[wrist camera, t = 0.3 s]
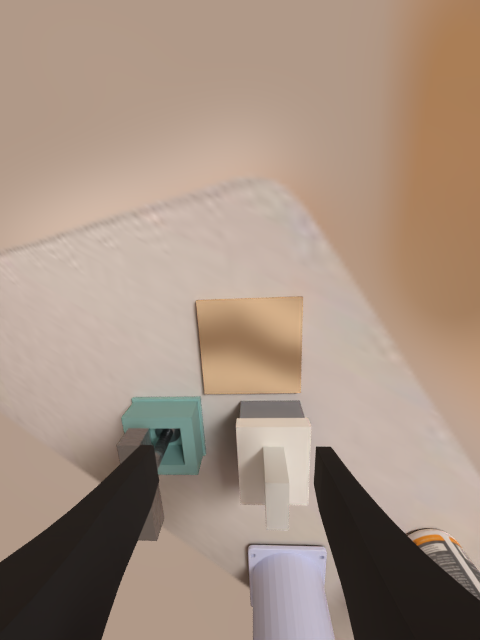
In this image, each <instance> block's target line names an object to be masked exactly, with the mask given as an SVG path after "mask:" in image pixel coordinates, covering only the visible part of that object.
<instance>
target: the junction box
mask: <svg viewBox="0 0 480 640" xmlns="http://www.w3.org/2000/svg"><path fill="white" fill-rule="evenodd" d="M240 418H305V417H304V414H303V411H302V407H301V404H300V401H241V407H240Z"/></svg>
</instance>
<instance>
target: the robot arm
mask: <svg viewBox="0 0 480 640" xmlns="http://www.w3.org/2000/svg"><path fill="white" fill-rule="evenodd" d="M158 483H159V477H158V470H157V463H156V457H155V450H154V445H140V446H139V447H138V448H137V449H136V450H135V451H134V452H132V453H131V454H130V455H129V456H128V457H127V458H126V459H125V460H124V461H123V462H122V463H121V464H120V465H119V466H118V467H117V468H116V469H115V470H114V471H113V472H112V473H111V474H110V475H109V476H108V477H107V478H106V479H104V480H103V481H102V482H101V483H100V484H99V485H98V486H97V487H96V488H95V489H94V490H93V491H91V492H90V493H89V494H88V495H87V496H86V497H85V498H83V499H82V500H81V501H80V502H79V503H78V504H77V505H76V506H74V507H73V508H72V509H71V510H70V511H68V512H67V513H66V514H65V515H64V516H62V517H61V518H60V519H59V520H57V521H56V522H55V523H53V524H52V525H51V526H50V527H48V528H47V529H46V530H45V531H43V532H42V533H41V534H39V535H38V536H37V537H35V538H34V539H32V540H31V541H30V542H28V543H27V544H25V545H24V546H22V547H21V548H20V549H18V550H17V551H16V552H14V553H13V554H11V555H10V556H8V557H7V558H6V559H4V560H3V561H1V562H0V640H101V639H102V636H103V633H104V629H105V626H106V623H107V620H108V617H109V614H110V611H111V608H112V605H113V602H114V599H115V596H116V593H117V590H118V588H119V585H120V582H121V580H122V577H123V575H124V572H125V570H126V567H127V565H128V562H129V560H130V557H131V555H132V553H133V550H134V548H135V546H136V543H137V541H138V538H139V536H140V534H141V531H142V529H143V526H144V524H145V522H146V519H147V517H148V514H149V512H150V509H151V507H152V503H153V500H154V497H155V494H156V490H157V487H158ZM314 487H315V492H316V497H317V502H318V507H319V512H320V515H321V519H322V522H323V525H324V529H325V532H326V535H327V539H328V542H329V545H330V548H331V552H332V555H333V558H334V562H335V565H336V568H337V572H338V575H339V578H340V581H341V585H342V589H343V593H344V596H345V600H346V605H347V609H348V613H349V618H350V622H351V626H352V631H353V635H354V640H480V600H479V599H477V598H476V597H475V596H474V595H472V594H471V593H470V592H469V591H468V590H467V589H465V588H464V587H463V586H462V585H461V584H460V583H458V582H457V581H456V580H455V579H454V578H453V577H452V576H450V575H449V574H448V573H447V572H446V571H445V570H444V569H442V568H441V567H440V566H439V565H438V564H437V563H435V562H434V561H433V560H432V559H431V558H430V557H429V556H428V555H427V554H426V553H425V552H424V551H422V550H421V549H420V548H419V547H418V546H417V545H416V544H415V543H414V542H413V541H412V540H411V539H410V538H409V537H408V536H407V535H406V534H405V533H404V532H403V531H402V530H401V529H400V528H399V527H398V526H397V525H396V524H395V523H394V522H393V521H392V520H391V519H390V518H389V517H388V515H387V514H386V513H385V512H384V511H383V510H382V509H381V508H380V507H379V506H378V505H377V503H376V502H375V501H374V500H373V499H372V498H371V497H370V495H369V494H368V493H367V492H366V491H365V489H364V488H363V487H362V486H361V485H360V484H359V482H358V481H357V480H356V479H355V477H354V476H353V475H352V474H351V472H350V471H349V470H348V469H347V467H346V466H345V465H344V463H343V462H342V461H341V459H340V458H339V457H338V455H337V454H336V453H335V451H334V450H333V449H332V448H331V447H316V457H315V474H314ZM326 557H327V553H326V549H325V548H324V547H321V546H282V545H250V546H249V547H248V560H249V580H250V600H251V606H252V607H253V640H335V637H334V632H333V628H332V623H331V618H330V614H329V609H328V604H327V599H326V595H325V590H324V584H325V571H326Z"/></svg>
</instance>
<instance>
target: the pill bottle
mask: <svg viewBox="0 0 480 640" xmlns="http://www.w3.org/2000/svg"><path fill="white" fill-rule="evenodd" d="M408 537H409V538H410V539H411V540H412V541H413V542H414V543H415V544H416V545H417V546H418V547H419V548H420V549H421V550H422V551H424V552H425V553H426V554H427V555H428V556H429V557H430V558H431V559H432V560H433V561H434V562H435V563H437V564H438V565H439V566H440V567H441V568H442V569H444V570H445V571H446V572H447V573H448V574H449V575H450V576H452V577H453V578H454V579H455V580H456V581H457V582H458V583H460V584H461V585H462V586H463V587H464V588H465V589H467V590H468V591H469V592H470V593H471V594H472V595H474V596H475V597H476V598H477V599H479V600H480V573H479V571H478V570H477V568H476V567H475V566H474V564H473V563H472V561H471V560H470V558H469V557H468V556H467V554H466V553H465V551H464V550H463V549H462V547H461V546H460V545H459V543H458V542H457V541H456V540H455V538H454V537H452V536H451V535H449V534H448V533H446V532H444V531H441V530H437V529H423V530H419V531H416V532H414V533H412V534H410V535H408Z"/></svg>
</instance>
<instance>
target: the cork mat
mask: <svg viewBox="0 0 480 640" xmlns="http://www.w3.org/2000/svg"><path fill="white" fill-rule="evenodd" d="M196 307H197V318H198V328H199V339H200V349H201V360H202V370H203V381H204V392H205V394H255V393H301V356H302V316H303V297H302V296H301V297H272V298H244V299H215V300H197V301H196Z"/></svg>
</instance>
